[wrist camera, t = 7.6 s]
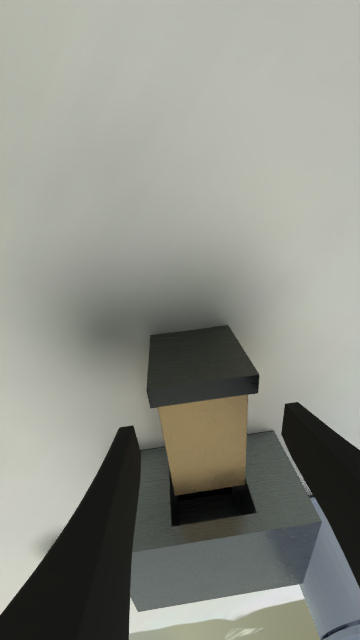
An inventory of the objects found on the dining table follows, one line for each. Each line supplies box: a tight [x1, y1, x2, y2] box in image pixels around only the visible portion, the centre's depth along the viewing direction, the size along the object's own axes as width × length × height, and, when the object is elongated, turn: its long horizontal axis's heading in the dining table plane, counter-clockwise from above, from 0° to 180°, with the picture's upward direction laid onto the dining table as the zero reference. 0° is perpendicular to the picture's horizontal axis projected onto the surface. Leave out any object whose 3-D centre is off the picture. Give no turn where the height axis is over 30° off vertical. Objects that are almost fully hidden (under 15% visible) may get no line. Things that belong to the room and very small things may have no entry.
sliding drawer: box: [147, 325, 259, 495], centre depth 16 cm, size 6×10×6 cm, turn 5°
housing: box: [130, 431, 322, 612], centre depth 20 cm, size 14×10×7 cm
